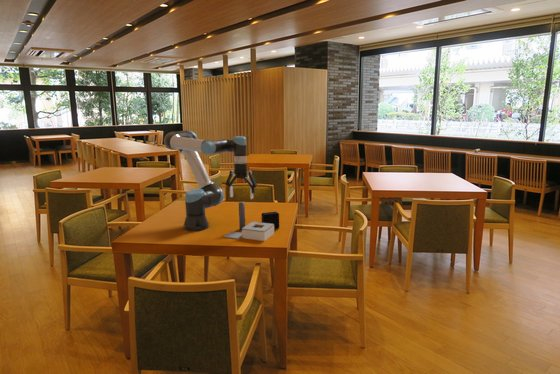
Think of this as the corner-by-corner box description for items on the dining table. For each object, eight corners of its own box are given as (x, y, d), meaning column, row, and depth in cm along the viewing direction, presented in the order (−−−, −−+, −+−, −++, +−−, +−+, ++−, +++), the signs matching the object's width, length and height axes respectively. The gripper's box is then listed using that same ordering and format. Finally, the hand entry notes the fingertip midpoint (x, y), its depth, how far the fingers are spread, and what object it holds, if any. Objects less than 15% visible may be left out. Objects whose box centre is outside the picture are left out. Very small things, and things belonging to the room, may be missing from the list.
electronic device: (261, 228, 236) (261, 213, 234) (276, 226, 239) (276, 211, 237) (263, 230, 232) (263, 214, 230) (279, 228, 236) (279, 213, 233)
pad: (224, 237, 221) (223, 236, 221) (231, 232, 229) (231, 231, 229) (237, 239, 218) (237, 238, 218) (245, 234, 226) (245, 233, 226)
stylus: (238, 230, 234) (237, 203, 230) (241, 228, 237) (240, 201, 233) (243, 230, 232) (242, 203, 229) (246, 228, 236) (245, 202, 232)
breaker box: (242, 238, 220) (242, 228, 218) (252, 230, 232) (252, 221, 231) (264, 241, 215) (264, 231, 213) (274, 233, 227) (274, 223, 226)
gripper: (218, 162, 227) (220, 197, 232) (257, 164, 218) (257, 200, 223) (225, 161, 234) (226, 194, 238) (262, 162, 225) (263, 197, 229)
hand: (241, 197), depth 231 cm, fingers open, 13 cm apart
